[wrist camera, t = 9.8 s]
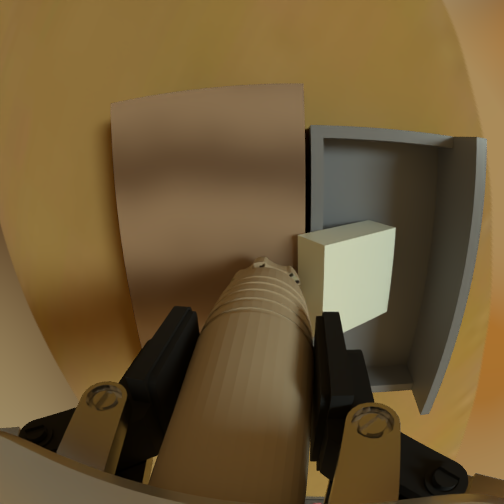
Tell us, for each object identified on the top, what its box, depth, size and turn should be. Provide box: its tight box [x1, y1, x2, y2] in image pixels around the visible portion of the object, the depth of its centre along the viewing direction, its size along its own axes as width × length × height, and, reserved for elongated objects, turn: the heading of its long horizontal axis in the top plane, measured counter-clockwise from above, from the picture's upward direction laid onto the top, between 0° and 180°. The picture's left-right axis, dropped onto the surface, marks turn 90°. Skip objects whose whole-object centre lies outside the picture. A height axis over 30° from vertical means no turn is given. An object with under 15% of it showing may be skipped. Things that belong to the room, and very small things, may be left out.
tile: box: [298, 220, 396, 337], centre depth 16 cm, size 5×5×2 cm
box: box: [309, 125, 487, 415], centre depth 16 cm, size 16×8×5 cm, turn 2°
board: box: [111, 84, 305, 348], centre depth 19 cm, size 20×10×3 cm, turn 2°
